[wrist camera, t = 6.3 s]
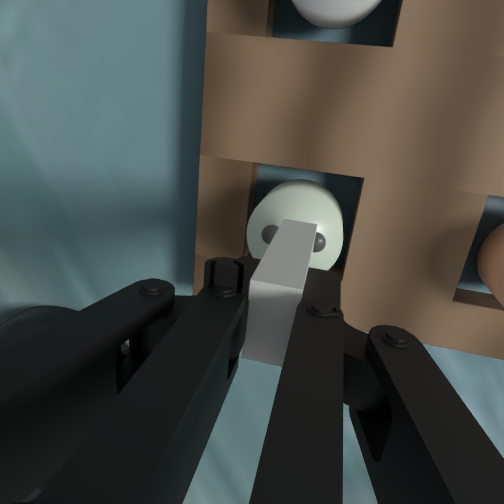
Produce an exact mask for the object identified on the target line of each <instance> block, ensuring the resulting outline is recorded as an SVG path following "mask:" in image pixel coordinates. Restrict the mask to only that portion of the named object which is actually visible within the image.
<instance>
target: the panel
mask: <svg viewBox="0 0 504 504" xmlns="http://www.w3.org/2000/svg"><path fill="white" fill-rule="evenodd" d="M276 1H277V0H208V5H207V25H206V45H205V65H204V85H203V105H202V125H201V145H200V165H199V185H198V205H197V225H196V245H195V265H194V285H193V296H195V295H197V294H198V293H199V292H200V290H201V289H202V288H203V282H204V265H205V261H207V260H208V259H211V258H215V257H230V258H235V259H237V258H239V257H241V256H246V257H252V258H253V256H252V255H251V253H250V251H249V247H248V243H247V226H248V222H249V219H250V217H251V215H252V213H253V211H254V203H255V194H256V185H257V176H258V167H259V163H262V164H269V165H276V166H283V167H291V168H298V169H305V170H312V171H319V172H327V173H334V174H341V175H348V176H355V177H361V181H360V186H359V190H358V195H357V200H356V204H355V209H354V214H353V219H352V223H351V228H350V233H349V237H348V242H347V247H346V251H345V256H344V261H343V266H342V268H341V267H335V266H332V267H331V268H330V269H329V270H327V271H333V272H336V273H337V275H338V276H339V277H340V278H341V308H340V309H341V310H342V312H343V315H344V321H345V322H346V323H347V324H349V325H350V326H352V327H353V328H356V329H358V330H360V331H365V332H369V331H370V329H371V328H372V327H374V326H377V325H390V326H397V327H399V328H403V329H405V330H406V331H408V332H410V333H411V334H413V335H414V336H415V337H416V338H417V339H418V340H420V342H421V343H424V344H428V345H433V346H438V347H443V348H448V349H453V350H458V351H463V352H468V353H473V354H477V355H482V356H487V357H492V358H497V359H502V360H504V307H503V306H502V304H501V303H500V302H499V301H498V300H497V298H496V297H495V296H494V295H492V294H486V293H481V292H475V291H470V290H464V289H458V288H457V285H458V282H459V279H460V276H461V274H462V271H463V268H464V265H465V262H466V259H467V256H468V253H469V251H470V248H471V245H472V242H473V239H474V236H475V233H476V230H477V228H478V225H479V222H480V219H481V216H482V213H483V210H484V207H485V204H486V202H487V199H488V196H489V195H492V196H499V197H504V0H399V3H398V7H397V12H396V17H395V21H394V26H393V31H392V36H391V40H390V45H389V47H381V46H369V45H357V44H345V43H332V42H320V41H308V40H296V39H284V38H273V28H274V19H275V10H276Z"/></svg>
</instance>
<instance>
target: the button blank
mask: <svg viewBox="0 0 504 504" xmlns="http://www.w3.org/2000/svg"><path fill="white" fill-rule="evenodd" d="M381 1H382V0H292V2H293V4H294V6H295V8H296V9H297V11H298V12H299V13H300V15H301V16H302V17H304V18H305V19H306V20H307V21H308V22H310V23H311V24H313V25H315V26H318V27H321V28H325V29H341V28H346V27H349V26H352V25H354V24H356V23H358V22H360V21H361V20H363V19H364V18H366V17H367V16H368V15H370V14H371V13H372V12H373V11H374V10H375V9H376V7H377V6H378V5H379V4H380V2H381Z"/></svg>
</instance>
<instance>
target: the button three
mask: <svg viewBox="0 0 504 504" xmlns="http://www.w3.org/2000/svg"><path fill="white" fill-rule="evenodd" d="M477 270H478V273H479V276H480V278H481V280H482V282H483V283H484V284H485V285H486V287H487V288H488V289H489V290H490V291H491V293H492V294H493V295H494V296H495V297H496V298H497V300H498V301H499V302H500V303H501V304H502V306H503V307H504V223H503V224H501V225H499V226H498V227H497V228H495V229H494V230H493V231H492V232H491V233H490V234H489V235H488V236H487V237H486V239H485V240H484V242H483V243H482V245H481V247H480V249H479V252H478V256H477Z"/></svg>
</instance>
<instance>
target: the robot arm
mask: <svg viewBox="0 0 504 504" xmlns="http://www.w3.org/2000/svg"><path fill="white" fill-rule="evenodd" d="M316 230H317V224H314V223H307V222H301V221H295V220H289V219H284V220H283V221H282V223H281V225H280V227H279V229H278V230H277V232H276V234H275V236H274V238H273V239H272V241H271V243H270V245H269V247H268V249H267V250H266V252H265V254H264V256H263V258H262V259H257V258H252V257H246V256H241V257H239V258H237V259H235V258H230V257H215V258H211V259H208V260H207V261H205V265H204V282H203V288H202V289H201V290H200V292H199V293H198V294H197V295H195V296H179V295H175V287H174V286H173V285H172V284H171V283H169V282H167V281H164V280H160V279H154V278H152V279H146V280H141V281H138V282H135V283H133V284H131V285H129V286H127V287H125V288H123V289H121V290H119V291H117V292H115V293H113V294H111V295H109V296H107V297H106V298H104V299H102V300H100V301H98V302H96V303H94V304H92V305H90V306H88V307H86V308H84V309H82V310H80V311H78V312H75V311H72V310H69V309H64V308H58V307H37V308H32V309H28V310H25V311H23V312H21V313H19V314H17V315H15V316H14V317H12V318H11V319H9V320H8V321H6V322H4V323H3V324H1V325H0V504H182V503H183V501H184V498H185V496H186V493H187V491H188V488H189V486H190V484H191V481H192V479H193V476H194V474H195V471H196V469H197V466H198V464H199V461H200V459H201V457H202V454H203V452H204V449H205V447H206V444H207V442H208V439H209V437H210V434H211V432H212V430H213V427H214V425H215V422H216V420H217V417H218V415H219V412H220V410H221V407H222V405H223V403H224V400H225V398H226V395H227V393H228V390H229V388H230V385H231V383H232V380H233V378H234V376H235V373H236V371H237V368H238V361H239V353H240V351H241V349H242V346H243V350H242V358H246V359H251V360H255V361H259V362H264V363H268V364H272V365H276V366H281V367H282V370H281V374H280V379H279V383H278V387H277V391H276V395H275V399H274V403H273V407H272V411H271V415H270V420H269V424H268V428H267V432H266V436H265V440H264V444H263V448H262V452H261V456H260V460H259V465H258V469H257V473H256V477H255V481H254V485H253V489H252V493H251V497H250V501H249V504H343V403H345V404H347V405H349V415H350V418H351V421H352V424H353V427H354V430H355V433H356V437H357V440H358V443H359V446H360V449H361V452H362V455H363V458H364V462H365V465H366V468H367V471H368V474H369V477H370V480H371V483H372V486H373V490H374V493H375V496H376V499H377V502H378V504H504V458H503V457H502V456H501V454H500V453H499V451H498V450H497V448H496V447H495V446H494V444H493V443H492V441H491V440H490V439H489V437H488V436H487V434H486V433H485V432H484V430H483V429H482V427H481V426H480V425H479V423H478V422H477V420H476V419H475V418H474V416H473V415H472V413H471V412H470V411H469V409H468V408H467V406H466V405H465V403H464V402H463V401H462V399H461V398H460V396H459V395H458V394H457V392H456V391H455V389H454V388H453V387H452V385H451V384H450V382H449V381H448V380H447V378H446V377H445V375H444V374H443V373H442V371H441V370H440V368H439V367H438V366H437V364H436V363H435V361H434V360H433V359H432V357H431V356H430V354H429V353H428V351H427V350H426V349H425V347H424V346H423V344H422V343H421V342H420V340H418V339H417V338H416V337H415V336H414V335H413V334H411V333H410V332H408V331H406V330H405V329H403V328H399V327H397V326H390V325H377V326H374V327H372V328H371V329H370V331H369V334H367V333H365V332H362V331H360V330H358V329H356V328H353V327H352V326H350V325H349V324H347V323H346V322H345V321H344V315H343V312H342V310H341V309H340V308H341V278H340V277H339V276H338V275H337V273H336V272H333V271H327V270H322V269H316V268H311V267H310V264H311V258H312V253H313V247H314V241H315V236H316ZM128 339H129V346H128V345H127V344H126V343H125V341H127V340H128Z"/></svg>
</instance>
